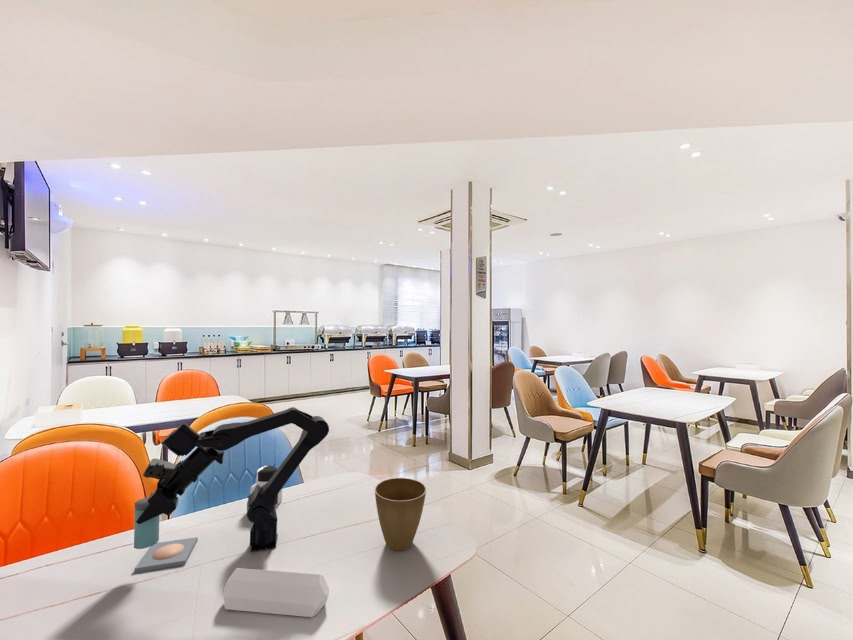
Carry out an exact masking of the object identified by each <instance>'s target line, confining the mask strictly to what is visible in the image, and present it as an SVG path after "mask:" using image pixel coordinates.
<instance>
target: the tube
mask: <svg viewBox="0 0 853 640" xmlns="http://www.w3.org/2000/svg"><path fill="white" fill-rule="evenodd" d="M149 497H150V496H148V497H147V496H146V497H142V498H141V499H139V500H136V502H134V506H133V507H134V522H133V523H134V527H133V528H134V530H133V531H134V532H133V548H134V549H136V550H142V549H149V548H150V546H153V545H154V544H156V543H159V542H160V515H158V516H156V517H154V518H152V519H150V520H148V521H146V522H143V523H141V524H138V523H136V521H137V519H138V518H139V517H140V515H141V514H142V513H143V512H144V510H145V509H146V508H147V506H148V505H149V503H148V501H147V500H148V499H149Z"/></svg>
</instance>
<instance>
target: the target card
mask: <svg viewBox="0 0 853 640" xmlns="http://www.w3.org/2000/svg"><path fill="white" fill-rule="evenodd" d="M198 538H199V537H198V536H195V537H188V538H181V539H174V540H168V541H167V540H166V541H161V542H160V541H158V542H157V543H156V544H154V545H153V546H150V547H148V548H147V549H148V550H147V551H145V554H144V555H143V556H142V558H141V559H140V561H139V562H138V563H137V565H136V566H135V567H134V573H140V572H144V571H145V572H146V571H151V570H157V569H165V568H170V567H171V568H172V567H176V566H185V565H186V564H187V563H188V560H189V558H190V557H191V554H192V552H193V550H194V548H195V547H196V544H197V543H198Z"/></svg>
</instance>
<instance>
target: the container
mask: <svg viewBox="0 0 853 640" xmlns="http://www.w3.org/2000/svg"><path fill="white" fill-rule="evenodd" d="M277 469H278V467H277V466H274V465H263V466H261V467H259V468H258V469H257V470H256V483H254V484H253V485H251V486H250V488H249V495H250V494H251V493H252V492H253V491H254V489H255V487H256V486H257V485H259V486H260V487H262V486H263V485H265V484H266V483H267V482H268V481H269V480H270V478H271V477H272V476H273V474H274V473H275V472H276V470H277ZM282 501H283V488H282V489H281V490H280V492H279V493H278V496H277V498H276V501H275V503H274V506H275V508H276V507H277V506H278V505H279V504H280V503H281V502H282Z"/></svg>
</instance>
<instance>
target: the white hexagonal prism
mask: <svg viewBox="0 0 853 640" xmlns="http://www.w3.org/2000/svg"><path fill="white" fill-rule="evenodd" d="M222 595H223V604H224V610H232V611H242V612H243V611H244V612H252V613H253V612H255V613H263V614H275V615H285V616H296V617H305V618H306V617H307V618H314V617H315V616H317V614H318V613H319V612H320V611H321V610H322V609H323V607H324V606H325V605H326V603H327V602H328V598H329V595H330V588H329V585H328V583H327V582H326V579H325V577H324V575H322V574H315V573H305V572H304V573H303V572H292V571H291V572H290V571H279V570H267V569H266V570H265V569H255V568H245V567H244V568H242V567H236V568H235V569H234V571H233V572H232V573H231V575H230V576H229V578H228V579H227V581H226V582H225V584H224V587H223V594H222Z"/></svg>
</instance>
